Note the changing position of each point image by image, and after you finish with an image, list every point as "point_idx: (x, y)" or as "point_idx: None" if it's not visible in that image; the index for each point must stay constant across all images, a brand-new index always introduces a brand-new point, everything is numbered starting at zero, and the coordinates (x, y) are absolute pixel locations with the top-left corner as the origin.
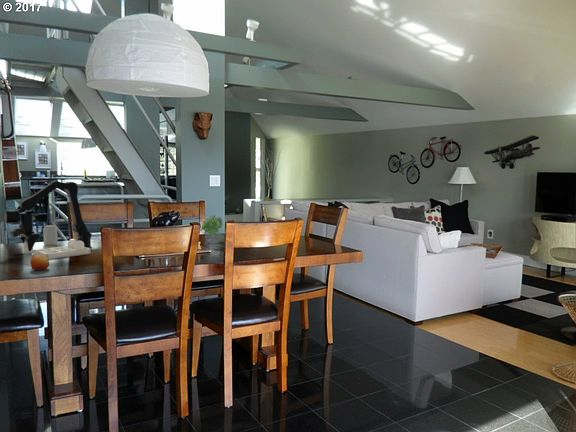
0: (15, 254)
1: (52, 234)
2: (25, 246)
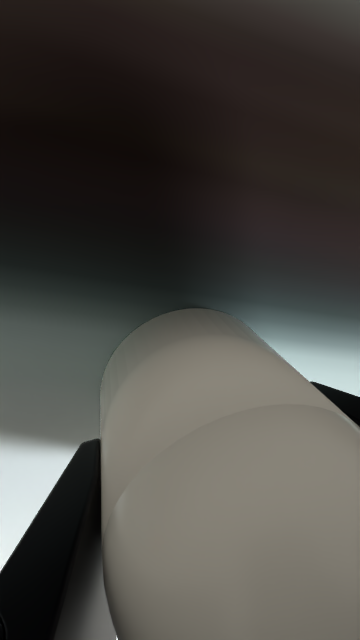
0: (181, 156)
1: None
2: (129, 470)
